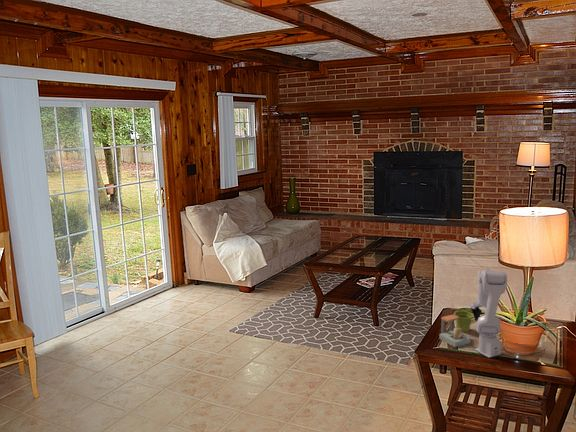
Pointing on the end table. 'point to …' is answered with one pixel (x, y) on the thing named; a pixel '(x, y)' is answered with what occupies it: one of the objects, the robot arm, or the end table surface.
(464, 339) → the socket board
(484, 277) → the robot arm
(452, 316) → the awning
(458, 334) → the peg
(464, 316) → the plant pot
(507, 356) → the end table surface
